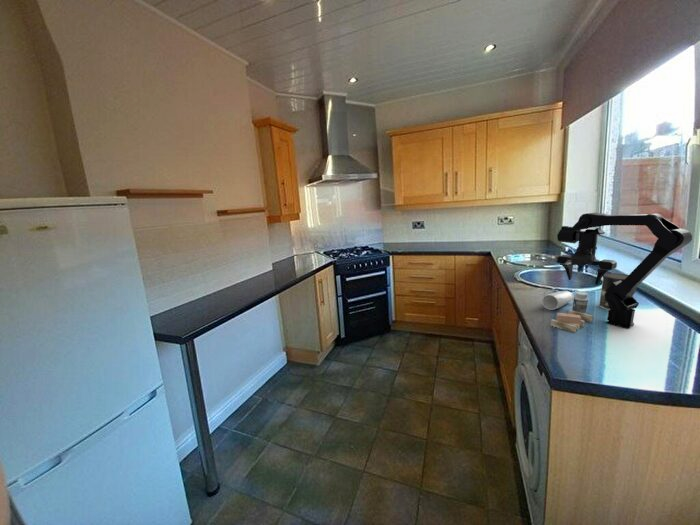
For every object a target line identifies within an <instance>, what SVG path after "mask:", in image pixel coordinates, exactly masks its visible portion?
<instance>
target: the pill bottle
mask: <svg viewBox="0 0 700 525" xmlns="http://www.w3.org/2000/svg"><path fill="white" fill-rule="evenodd" d="M572 302H573V303H572V308H571V309H572V311H576V312H581V313H585V314H587V309H588V302H589V298H588V293H587V292H584V291H575V296H573V300H572Z"/></svg>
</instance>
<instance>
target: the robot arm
mask: <svg viewBox="0 0 700 525" xmlns="http://www.w3.org/2000/svg"><path fill="white" fill-rule="evenodd" d="M604 226H644V227H645V226H646V228H648V230H650V232H651V233H652V235H653V236H654V237H656V238H657V240H655V243H654V246H653V248H652V250H651V252H649V254H648V255H647V256H646V257H645V258H643V260H642V261H641V262H640V263H639V264H638V265H637V266H636V267H635V268H634V269H633V270H632V271H631V272H630V273H629V274H627V275H628V276H627V277H626V278H625V279H624V281H621V280H620V281H617V282H614V283H612V284H611V285H610V287H609V288H608V289H606V290H605V291H607V292H606V293H605V294H604V296H605V299H606V301H607V302H608V305H609V309H610V310H607V320H606V324H609V325H613V326H617V327H620V328H626V329H630V328H632V327H633V326H634V325H635V322H634V317H635V314H636V313H635V312H636V309H637V307H639V304H640V302H638V301H637V300H636V299H635V298H634V295H635V293H636V291H637V288H638V286H640V284H641V283H642V282H643V281H644V280H645V279H646V278H647V277H648V276H650V275H651V274H652V273H653V272H654V271H655V269H657V268H658V267H659V266H660V265H661V264H662V263H663V262H664V261H665V260H666V259H667V258H668V257H669V256H671V255H673V254H674V253H676V252H678V251H679V250H682V249H683V248H684V247H686V246H687V245H689V244H690V243H691V242H692V241H693V235H692V233H691V232H690V231H689V230H687V229H685V228H680V226H678V225H677V224H675V223H674V222H672V221H669V220H668V219H666V218H665V217H664V216H663V215H662V214H660V213H649V214H647V213H646V214H607V213H602V212H589V213H583V214H581V216H580V217H579V218H578V220H577V222H575V224H574V225H573V226H569V225H562V226H561V228H560V229H559V231H558V234H557V235H556V236H557V237H556V238H557V241H558V242H560V243H567V244H576V243H577V242H578V243H577V244H578V246H577V247H576V250H575V251H574V253H573V254H572V255H570V254H561V255H559V256H557V257H556V262H555V263H557V264H559V265H560V266H562V267H563V268H564V270H565V273H566V276H567V279H568V281H571V280H572V276H573V271H574V270H573V268H574V266H579V267H585V266H586V265H590V266H598V267H599V268H597V273H596V274H597V275H596V278H595V286H598V284H599V283H600V281H601V280H602V279H603V275H604V274H606V273H607V272H609V271H613V270H615V269H616V268H617V266H618V262H617V261H616V260H613V259H606V258H605V259H602V260H596V259H597V258H596V251H597V250H598V247H597V244H598V236H599V235H604V234H606V232H605V231H604V230H602V229H601V227H604ZM592 228H595V229H592Z"/></svg>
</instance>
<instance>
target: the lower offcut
mask: <svg viewBox="0 0 700 525" xmlns="http://www.w3.org/2000/svg"><path fill="white" fill-rule="evenodd" d="M564 323H565V322H564ZM568 324H572V325H575V326H577V328H576V330H577V331H576V332H579V330H580V329H579V328H581V327H580V324H573V323H568ZM578 329H579V330H578Z"/></svg>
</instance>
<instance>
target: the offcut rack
mask: <svg viewBox="0 0 700 525" xmlns="http://www.w3.org/2000/svg"><path fill="white" fill-rule="evenodd" d="M567 314H575V315H580V316H581V324H580V328H581V327H582V328H581V329H583V327H584V328H585V322H588V321H589V323H593V322H594V315H593V314H588V313H586V314H585V313H581V312H576V311H572V310H571V309H569V310H568V313H567ZM552 326H553V327H552ZM550 327H552V328H555V327H557V328H556V329H559V328H560V329H559V330H562V329H564V330H563V331H566V330H567V331H566V332H569V331H570V333H573V332H574V333H573V334H576V333H577V331H576V328H577V326H575V325H572V324H568V323H564V322H561V321H557V319H553V318H552V319H550ZM575 332H576V333H575Z"/></svg>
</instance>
